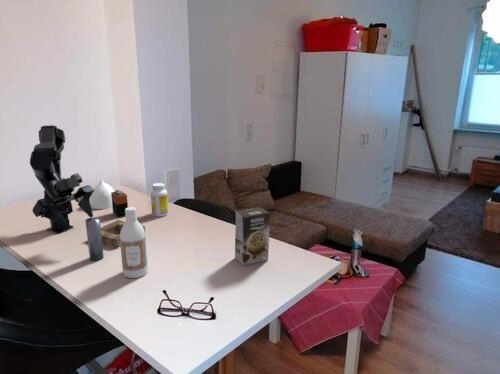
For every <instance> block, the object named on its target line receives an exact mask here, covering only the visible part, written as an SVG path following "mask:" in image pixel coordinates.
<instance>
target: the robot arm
mask: <svg viewBox="0 0 500 374" xmlns="http://www.w3.org/2000/svg"><path fill="white" fill-rule="evenodd" d="M38 142H39V143H37V144H35V145H34V147H33V150H32V151H31V153H30V158H29V164H30V167H31V169H32V171H33V173H34V176H35V178H36V179H37V181H38V182H39V184H40V185H41V186H42V187H43V189H44V191H43V193H44V194H43V198H39V199H37V201H36V202H35V204H34V205H33V207H32V213H33V214H34V216H35V217H36V218H38V217H40V218H45V219H48V220H49V223H50V227H48V228H47V231H50V232H53V233H57V234H61V233H62V232H65V231H68V230H70V229H74V225H71V223H70V218H69V215H71V213H73V212H74V209H73V204H72V201H75V202H76V203H77V206H79V208H80V209H81V210H82V211H83V212H84V213H85V214H86V215H87V216H88V217H89V218H93V216H94V214H93V208H91V205H90V197H91V195H92V193H93V192H94V190H93V189H94V188H93V186H92V185H85V186H81V185H80V184H82V183H83V179H82V176H81V175H80V174H79V173H78V172H77V173H73V174H72V175H70V177H67V178H65V177H62V170H61V169H62V168H61V167H62V166H61V159H62V152H63V150H64V149H65V143H66V135H65V131H64V130H63V129H60V128H58V126H57V125H53V124H52V125H51V124H50V125H42V126H40V130H38ZM80 186H81V187H80ZM76 187H79V188H78V189H77V190H76V191H75V188H76ZM74 191H75V192H74ZM73 192H74V193H73Z"/></svg>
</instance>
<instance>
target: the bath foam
mask: <svg viewBox="0 0 500 374" xmlns="http://www.w3.org/2000/svg"><path fill="white" fill-rule="evenodd" d="M125 215H126V216H125V221H124V222H125V224H124V225H123V227H122V229H121V232H119V234H120V245H121V247H120V254H121V266H122V273H123V276H124V277H126V278H129V279H137V278H141V277H143V276H145V275H146V274H147V273H148V255H147V252H148V251H147V238H146V237H147V236H146V230H145V231H144V229H143V227H142V226H143V225H142V224H141V223H140V222H139V220H138V219H137V218H138V217H137V207H135V206H128V208H126V209H125Z"/></svg>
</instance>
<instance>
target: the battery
mask: <svg viewBox="0 0 500 374" xmlns="http://www.w3.org/2000/svg"><path fill="white" fill-rule="evenodd" d="M114 191H115V192H112V193H111V197H112V213H113V215H115V216H116V217H117V218H123V217H126V215H125V209H126V208H128V207H129V203H128V194H127V193H125V192H123V191H122V190H120V189H116V190H114Z"/></svg>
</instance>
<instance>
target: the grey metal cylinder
mask: <svg viewBox="0 0 500 374" xmlns="http://www.w3.org/2000/svg"><path fill="white" fill-rule="evenodd" d="M85 227H86V228H85V229H86V235H87V236H86V237H87V244H88V245H87V246H88V255H89V261H91V262H99V260H100V261H102V260H103V259H104V258H105V257H104V249H103V248H104V247H103V244H102V237H101V220H100V217H96V216H95V217H88V218H86V219H85Z"/></svg>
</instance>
